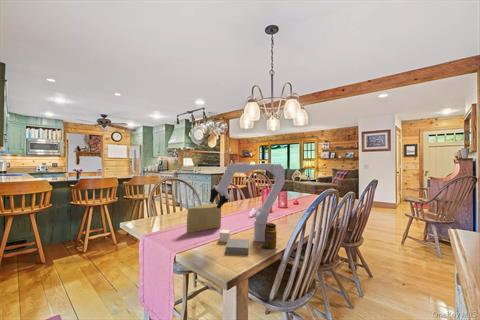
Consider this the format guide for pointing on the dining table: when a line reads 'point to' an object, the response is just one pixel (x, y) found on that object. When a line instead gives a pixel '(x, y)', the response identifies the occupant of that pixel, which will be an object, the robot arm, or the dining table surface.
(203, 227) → the olive rectangular box
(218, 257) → the dining table surface
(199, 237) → the dining table surface
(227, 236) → the cube
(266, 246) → the condiment
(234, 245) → the base
